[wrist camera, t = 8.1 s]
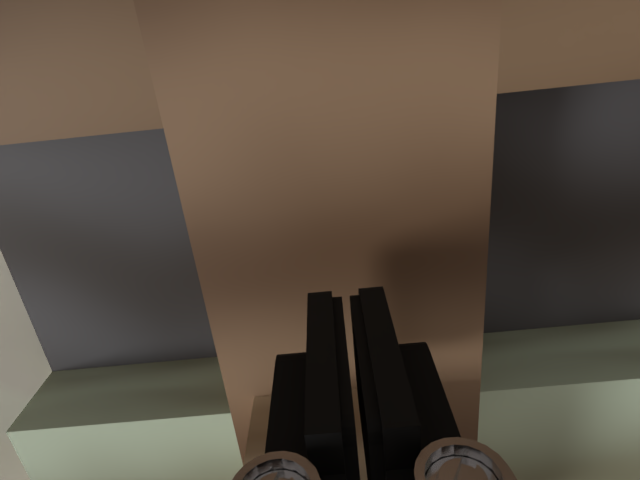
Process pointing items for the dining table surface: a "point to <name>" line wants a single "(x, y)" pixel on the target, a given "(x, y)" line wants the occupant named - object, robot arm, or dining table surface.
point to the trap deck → (321, 217)
